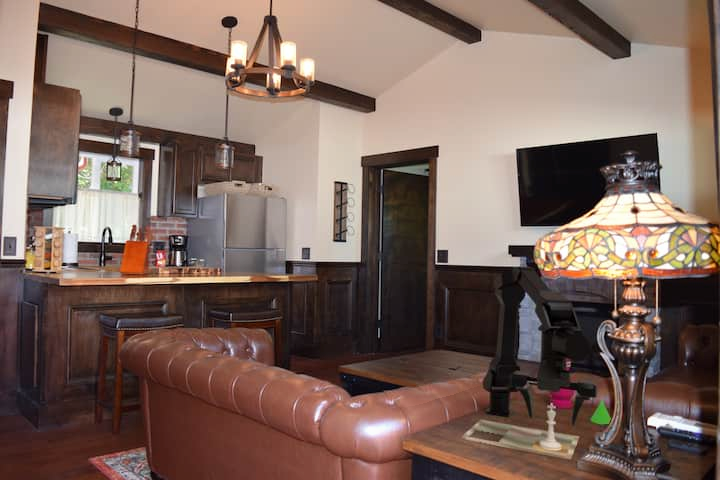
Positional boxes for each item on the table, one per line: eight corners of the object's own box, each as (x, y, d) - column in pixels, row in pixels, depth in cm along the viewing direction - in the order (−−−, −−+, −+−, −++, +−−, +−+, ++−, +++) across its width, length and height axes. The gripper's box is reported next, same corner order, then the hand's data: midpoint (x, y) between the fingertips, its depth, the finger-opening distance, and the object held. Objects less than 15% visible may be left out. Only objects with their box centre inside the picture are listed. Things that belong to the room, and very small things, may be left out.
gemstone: (598, 425, 147) (599, 403, 148) (585, 419, 153) (585, 397, 153) (618, 425, 148) (619, 403, 149) (604, 418, 154) (604, 397, 155)
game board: (480, 421, 146) (480, 419, 146) (579, 438, 135) (579, 436, 135) (461, 438, 131) (461, 436, 131) (570, 459, 120) (570, 457, 120)
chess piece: (563, 451, 124) (564, 406, 124) (540, 449, 125) (541, 404, 125) (560, 444, 128) (561, 401, 129) (538, 442, 129) (539, 399, 130)
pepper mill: (543, 403, 169) (545, 337, 169) (563, 402, 171) (564, 337, 171) (558, 409, 162) (560, 341, 162) (578, 408, 164) (580, 341, 164)
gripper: (505, 353, 124) (503, 422, 124) (594, 363, 116) (592, 438, 115) (515, 347, 134) (513, 411, 134) (598, 355, 125) (597, 424, 125)
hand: (552, 421), depth 127 cm, fingers open, 9 cm apart
